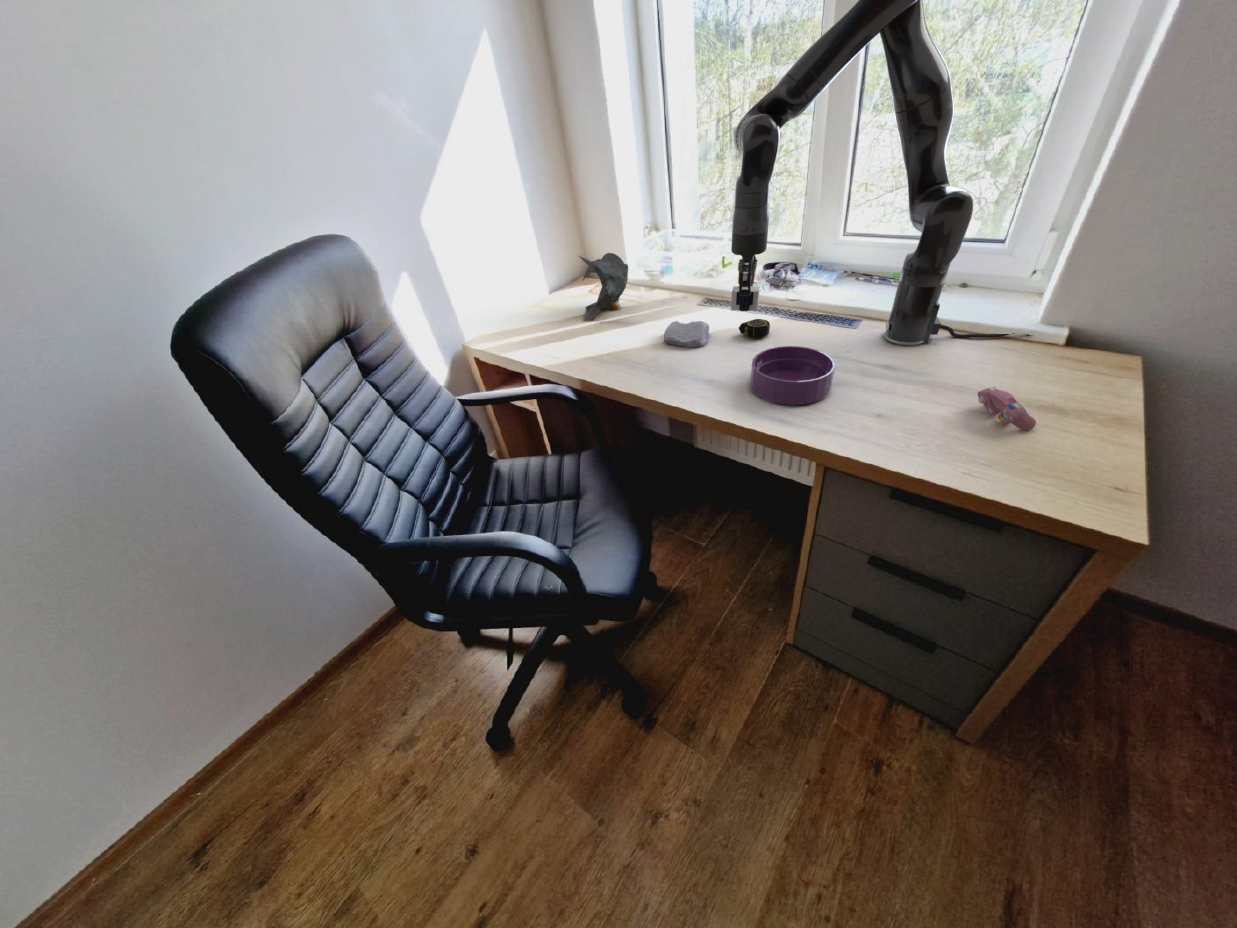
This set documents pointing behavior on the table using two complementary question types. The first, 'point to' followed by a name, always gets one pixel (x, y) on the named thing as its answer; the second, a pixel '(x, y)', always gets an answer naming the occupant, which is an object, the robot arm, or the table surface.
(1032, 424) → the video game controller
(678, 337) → the stone block
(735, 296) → the white box
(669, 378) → the table surface
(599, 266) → the dark grey bird-shaped figure
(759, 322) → the tape measure
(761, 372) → the bowl
